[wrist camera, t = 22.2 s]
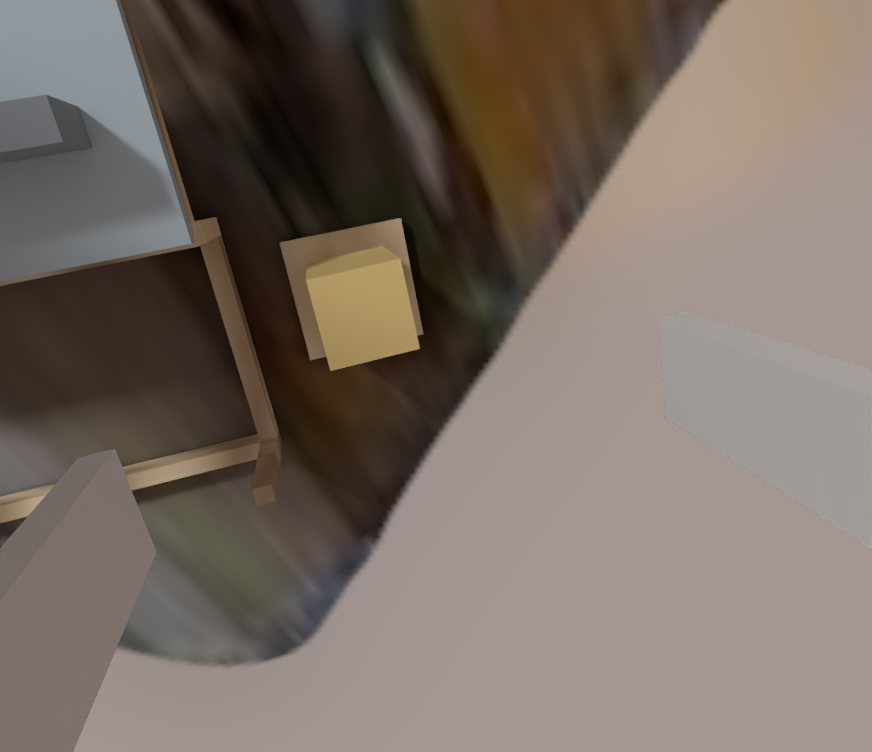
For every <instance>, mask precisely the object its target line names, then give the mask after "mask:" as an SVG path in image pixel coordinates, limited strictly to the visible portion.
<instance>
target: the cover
mask: <svg viewBox="0 0 872 752" xmlns="http://www.w3.org/2000/svg"><path fill="white" fill-rule="evenodd" d="M194 242H195V240H194V237H193V234H192V230H191V227H190V224H189V221H188V218H187V214H186V211H185V208H184V205H183V201H182V198H181V195H180V192H179V188H178V185H177V182H176V179H175V175H174V172H173V169H172V166H171V163H170V159H169V156H168V153H167V150H166V146H165V143H164V140H163V137H162V133H161V130H160V127H159V124H158V120H157V117H156V114H155V111H154V108H153V104H152V101H151V98H150V95H149V91H148V88H147V85H146V82H145V78H144V75H143V72H142V69H141V66H140V62H139V59H138V56H137V53H136V49H135V46H134V43H133V40H132V36H131V33H130V30H129V27H128V23H127V20H126V17H125V14H124V11H123V7H122V4H121V1H120V0H0V282H1V281H6V280H11V279H16V278H21V277H26V276H31V275H36V274H41V273H46V272H51V271H56V270H61V269H67V268H72V267H77V266H82V265H87V264H92V263H97V262H102V261H107V260H112V259H117V258H122V257H127V256H132V255H137V254H142V253H147V252H152V251H157V250H162V249H168V248H173V247H178V246H183V245H188V244H192V243H194Z"/></svg>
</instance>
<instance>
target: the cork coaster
mask: <svg viewBox="0 0 872 752" xmlns="http://www.w3.org/2000/svg"><path fill="white" fill-rule="evenodd" d="M381 246H384V247H385V248H387V249H388V250H389V251H391V252H392V253H393V254H395V255H396V256H398V257H399V258H400V259H401V263H402V268H403V272H404V277H405V282H406V286H407V291H408V296H409V300H410V305H411V310H412V314H413V319H414V323H415V328H416V333H417V336H418V335H422V334H423V329H422V324H421V319H420V314H419V309H418V304H417V298H416V293H415V288H414V283H413V278H412V273H411V267H410V262H409V257H408V252H407V247H406V242H405V237H404V231H403V226H402V221H401V218H397V219H392V220H387V221H383V222H378V223H373V224H368V225H363V226H358V227H353V228H348V229H343V230H338V231H333V232H328V233H323V234H318V235H313V236H308V237H303V238H298V239H293V240H288V241H283V242H280V247H281V251H282V255H283V258H284V262H285V266H286V270H287V274H288V277H289V281H290V285H291V289H292V293H293V296H294V300H295V304H296V308H297V312H298V315H299V319H300V323H301V327H302V331H303V334H304V338H305V342H306V346H307V350H308V353H309V357H310V360H314V359H318V358H322V357H326V353H325V349H324V346H323V342H322V338H321V335H320V331H319V327H318V324H317V320H316V316H315V313H314V309H313V305H312V302H311V298H310V294H309V290H308V287H307V283H306V263H310V262H314V261H318V260H323V259H327V258H332V257H336V256H341V255H345V254H350V253H354V252H358V251H363V250H367V249H372V248H376V247H381Z"/></svg>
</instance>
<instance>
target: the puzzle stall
mask: <svg viewBox="0 0 872 752" xmlns="http://www.w3.org/2000/svg"><path fill="white" fill-rule="evenodd" d="M120 1H121V4H122V7H123V11H124V14H125V17H126V20H127V23H128V27H129V30H130V33H131V36H132V40H133V43H134V46H135V49H136V53H137V56H138V59H139V62H140V66H141V69H142V72H143V75H144V78H145V82H146V85H147V88H148V91H149V95H150V98H151V101H152V104H153V108H154V111H155V114H156V117H157V120H158V124H159V127H160V130H161V133H162V137H163V140H164V143H165V146H166V150H167V153H168V156H169V159H170V163H171V166H172V169H173V172H174V175H175V179H176V182H177V185H178V188H179V192H180V195H181V198H182V201H183V205H184V208H185V211H186V214H187V218H188V221H189V224H190V227H191V230H192V234H193V237H194V240H195V242H194V243H192V244H188V245H183V246H178V247H173V248H168V249H162V250H157V251H152V252H147V253H142V254H137V255H132V256H127V257H122V258H117V259H112V260H107V261H102V262H97V263H92V264H87V265H82V266H77V267H72V268H67V269H61V270H56V271H51V272H46V273H41V274H36V275H31V276H26V277H21V278H16V279H11V280H6V281H1V282H0V286H2V285H7V284H13V283H18V282H23V281H28V280H33V279H38V278H43V277H48V276H53V275H58V274H63V273H68V272H73V271H78V270H83V269H88V268H93V267H98V266H103V265H108V264H113V263H118V262H123V261H128V260H133V259H138V258H143V257H148V256H153V255H158V254H163V253H168V252H173V251H178V250H183V249H188V248H193V247H198V246H200V247H201V251H202V254H203V257H204V260H205V264H206V267H207V270H208V273H209V277H210V280H211V283H212V286H213V290H214V293H215V296H216V299H217V303H218V306H219V309H220V312H221V316H222V319H223V322H224V325H225V329H226V332H227V335H228V339H229V342H230V345H231V348H232V352H233V355H234V358H235V361H236V365H237V368H238V371H239V374H240V378H241V381H242V384H243V387H244V391H245V394H246V397H247V400H248V404H249V407H250V410H251V413H252V417H253V420H254V423H255V426H256V430H257V433H258V434H256V435H252V436H247V437H243V438H239V439H235V440H231V441H227V442H223V443H219V444H215V445H210V446H206V447H202V448H198V449H194V450H190V451H186V452H182V453H178V454H174V455H169V456H165V457H161V458H157V459H153V460H149V461H145V462H141V463H137V464H133V465H128V466H124V467H122V468H123V470H124V473H125V475H126V478H127V480H128V483H129V485H130V488H131V490H136V489H140V488H144V487H148V486H152V485H156V484H160V483H164V482H168V481H172V480H176V479H180V478H184V477H188V476H192V475H196V474H200V473H204V472H208V471H212V470H216V469H220V468H224V467H228V466H232V465H236V464H240V463H244V462H248V461H252V460H256V459H257V463H256V468H255V473H254V478H253V483H252V488H251V490H252V493H253V496H254V499H255V503H256V506H261V505H265V504H269V503H272V502H276V501H277V492H278V482H279V473H280V463H281V454H282V444H283V443H282V440H281V436H280V433H279V429H278V426H277V423H276V419H275V416H274V412H273V409H272V406H271V402H270V399H269V395H268V392H267V389H266V385H265V382H264V378H263V375H262V372H261V368H260V365H259V361H258V358H257V354H256V351H255V348H254V344H253V341H252V337H251V334H250V331H249V327H248V324H247V320H246V317H245V314H244V310H243V307H242V303H241V300H240V297H239V293H238V290H237V286H236V283H235V280H234V276H233V273H232V269H231V266H230V263H229V259H228V256H227V252H226V249H225V246H224V242H223V239H222V235H221V232H220V228H219V225H218V222H217V218H216V217H212V218H207V219H202V220H197V221H194V218H193V215H192V211H191V208H190V205H189V201H188V198H187V195H186V192H185V188H184V185H183V182H182V179H181V175H180V172H179V169H178V166H177V162H176V159H175V156H174V152H173V149H172V146H171V143H170V139H169V136H168V133H167V130H166V126H165V123H164V120H163V117H162V113H161V110H160V107H159V103H158V100H157V97H156V94H155V90H154V87H153V84H152V81H151V77H150V74H149V71H148V67H147V64H146V61H145V58H144V54H143V51H142V48H141V45H140V41H139V38H138V35H137V32H136V28H135V25H134V22H133V18H132V15H131V12H130V9H129V5H128V2H127V0H120ZM55 484H56V483H55ZM55 484H51V485H46V486H42V487H38V488H34V489H30V490H26V491H22V492H18V493H14V494H10V495H5V496H1V497H0V523H3V522H7V521H11V520H15V519H19V518H23V517H27V516H29V514H30V513H31V512H32V511H33V510H34V509H35V507H36V506H37V505H38V504H39V503H40V502H41V500H42V499H43V498H44V497H45V496H46V495H47V494H48V492H49V491H50V490H51V489H52V488H53V487H54V485H55Z"/></svg>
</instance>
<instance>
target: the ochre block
mask: <svg viewBox="0 0 872 752" xmlns="http://www.w3.org/2000/svg"><path fill="white" fill-rule="evenodd" d="M306 283H307V287H308V290H309V294H310V298H311V302H312V305H313V309H314V313H315V316H316V320H317V324H318V327H319V331H320V335H321V338H322V342H323V346H324V349H325V353H326V357H327V360H328V364H329V368H330V371H333V370H337V369H341V368H345V367H349V366H353V365H357V364H361V363H365V362H369V361H373V360H377V359H381V358H385V357H389V356H393V355H397V354H401V353H405V352H409V351H413V350H417V349H420V347H419V342H418V337H417V333H416V328H415V323H414V319H413V314H412V310H411V305H410V300H409V296H408V291H407V286H406V282H405V277H404V272H403V268H402V263H401V259H400V258H399V257H398V256H396V255H395V254H393V253H392V252H391V251H389V250H388V249H387V248H385V247H384V246H381V247H376V248H372V249H367V250H363V251H358V252H354V253H350V254H345V255H341V256H336V257H332V258H327V259H323V260H318V261H314V262H310V263H306Z"/></svg>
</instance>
